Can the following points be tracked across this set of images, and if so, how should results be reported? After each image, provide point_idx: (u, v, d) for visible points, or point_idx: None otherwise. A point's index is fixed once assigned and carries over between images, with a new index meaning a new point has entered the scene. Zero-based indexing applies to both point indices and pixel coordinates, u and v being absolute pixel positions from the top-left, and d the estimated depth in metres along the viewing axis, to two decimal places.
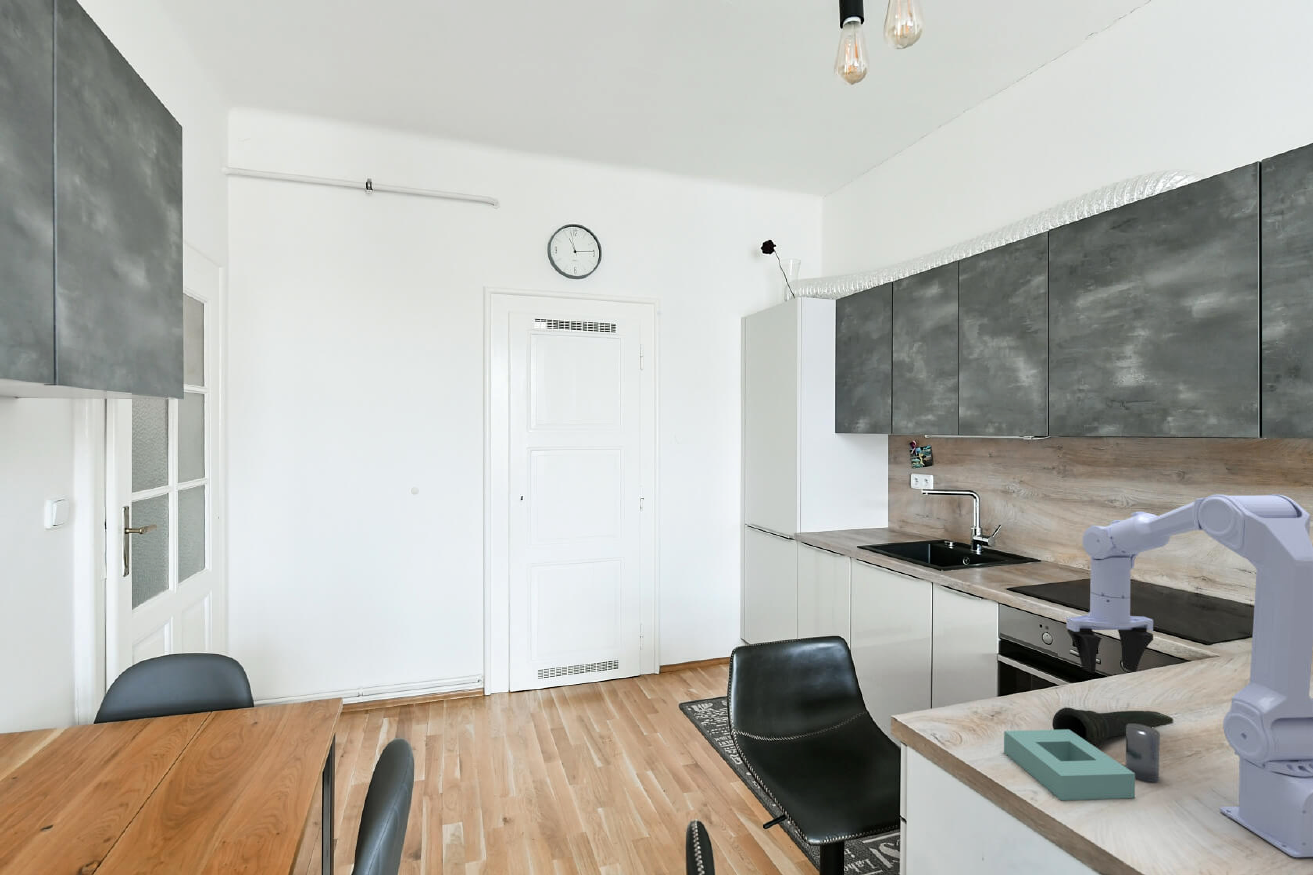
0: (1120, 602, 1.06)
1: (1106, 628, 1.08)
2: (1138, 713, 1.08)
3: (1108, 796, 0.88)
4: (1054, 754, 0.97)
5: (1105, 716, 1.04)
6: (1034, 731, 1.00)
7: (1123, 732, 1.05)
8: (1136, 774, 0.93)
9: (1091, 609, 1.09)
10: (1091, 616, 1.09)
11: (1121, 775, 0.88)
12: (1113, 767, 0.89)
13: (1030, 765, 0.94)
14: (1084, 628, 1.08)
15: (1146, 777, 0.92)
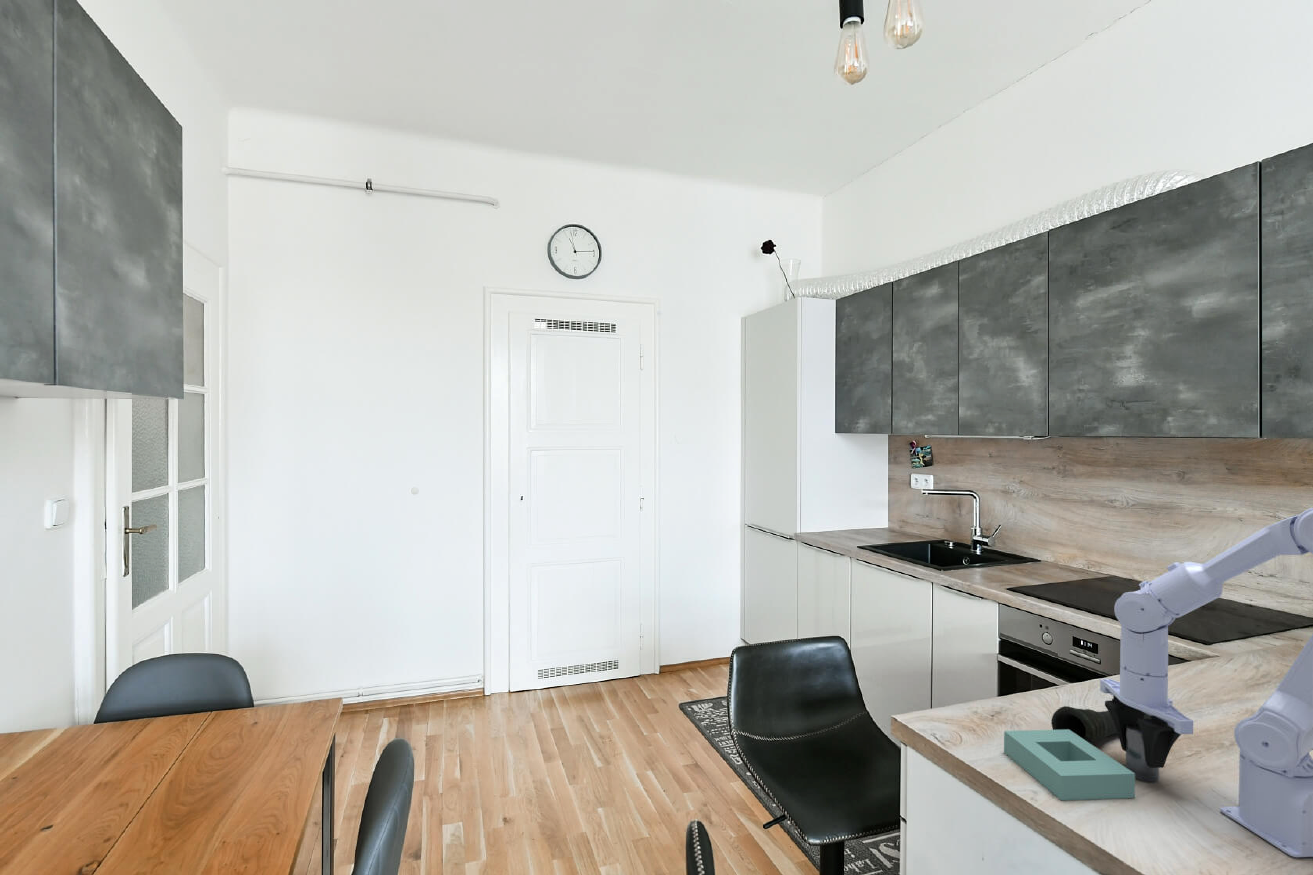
0: (1123, 673, 0.94)
1: None
2: None
3: (1108, 796, 0.88)
4: (1054, 754, 0.97)
5: (1103, 715, 1.04)
6: (1034, 731, 1.00)
7: None
8: (1136, 774, 0.93)
9: None
10: None
11: (1121, 775, 0.88)
12: (1113, 767, 0.89)
13: (1030, 765, 0.94)
14: None
15: (1146, 777, 0.92)
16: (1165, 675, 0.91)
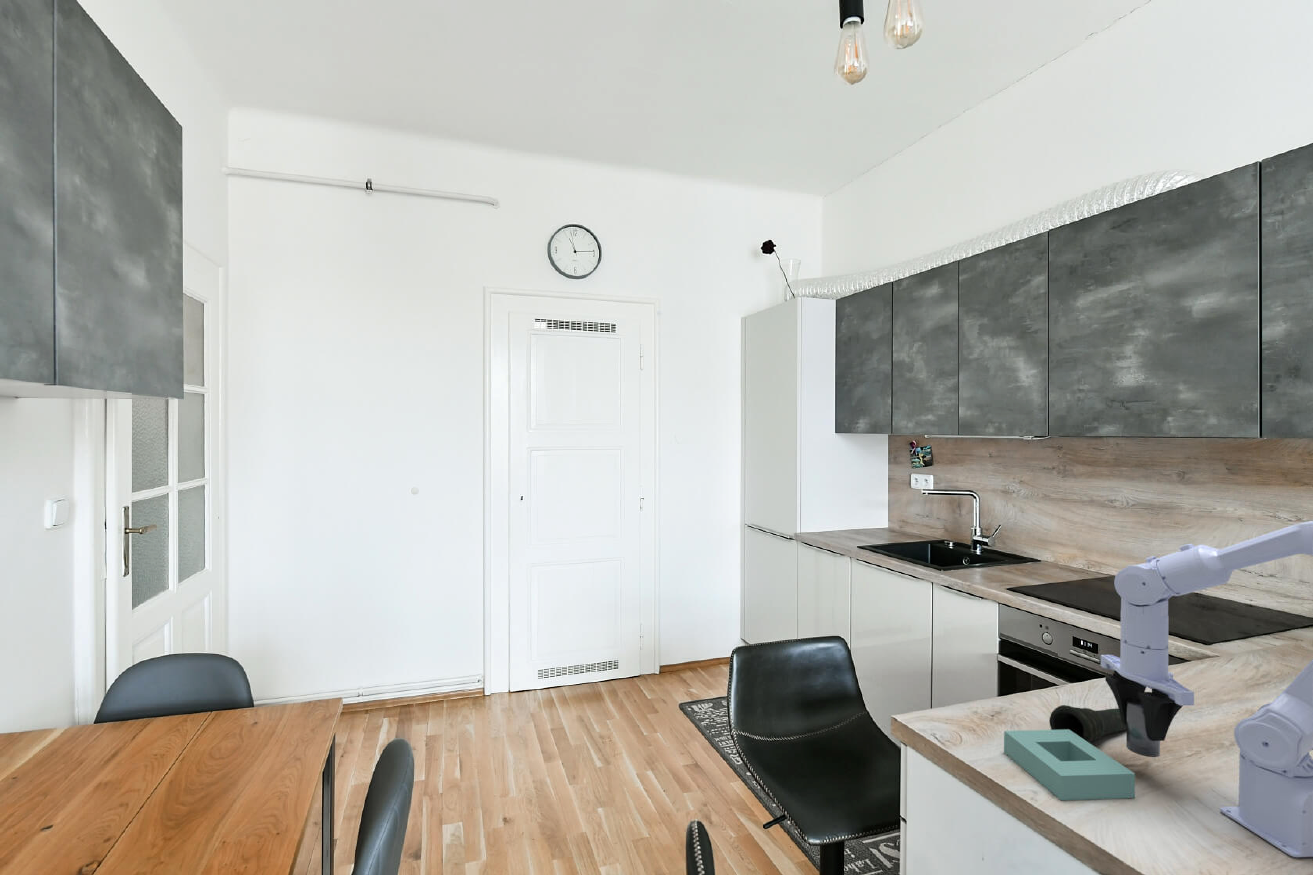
0: (1124, 647, 0.94)
1: None
2: None
3: (1108, 796, 0.88)
4: (1054, 754, 0.97)
5: (1101, 713, 1.05)
6: (1034, 731, 1.00)
7: (1118, 729, 1.06)
8: (1137, 748, 0.92)
9: None
10: None
11: (1121, 775, 0.88)
12: (1113, 767, 0.89)
13: (1030, 765, 0.94)
14: None
15: (1147, 751, 0.92)
16: (1165, 648, 0.91)
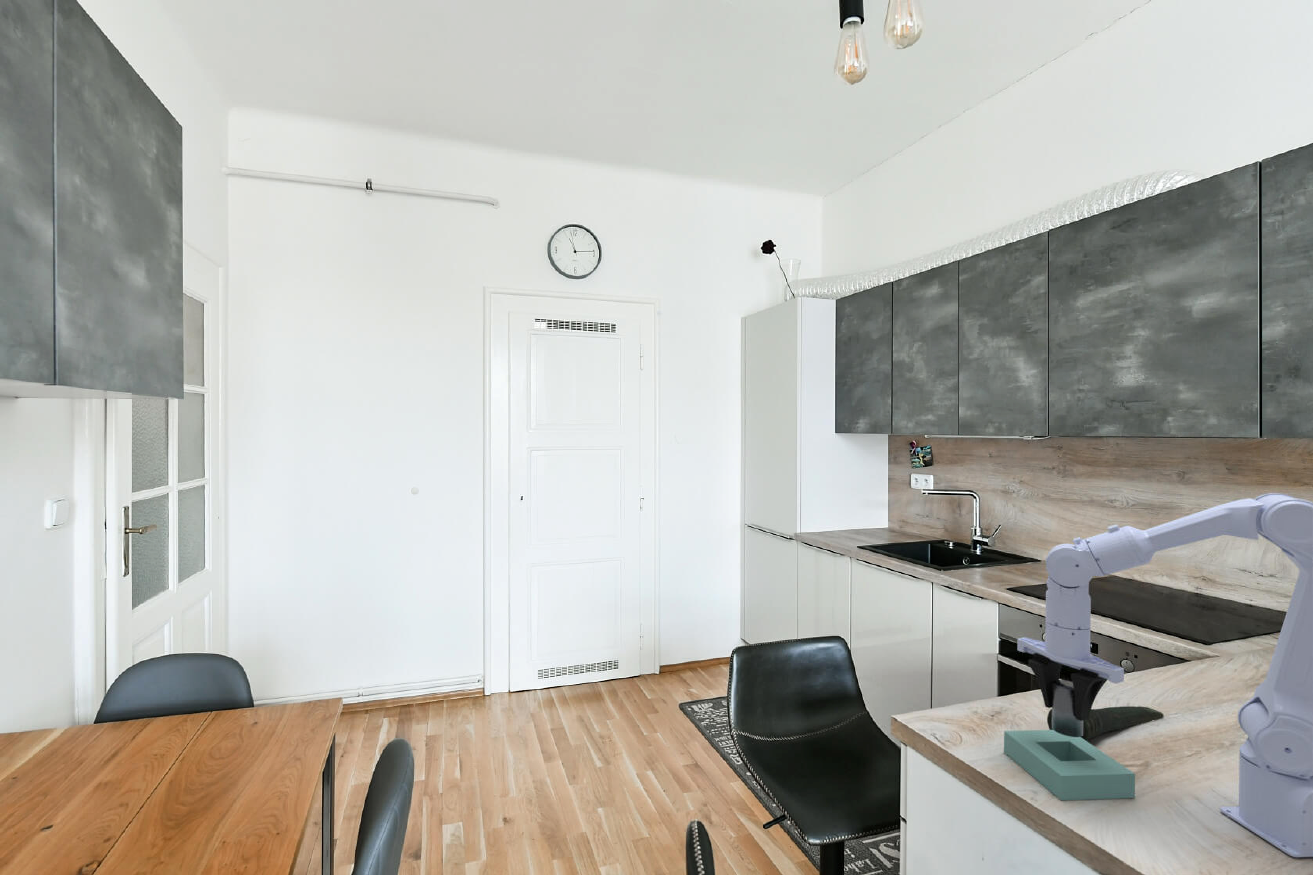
0: (1053, 630, 0.93)
1: (1060, 661, 0.94)
2: (1130, 709, 1.10)
3: (1108, 796, 0.88)
4: (1054, 754, 0.97)
5: (1098, 712, 1.05)
6: (1034, 731, 1.00)
7: (1116, 727, 1.06)
8: (1065, 730, 0.92)
9: None
10: None
11: (1121, 775, 0.88)
12: (1113, 767, 0.89)
13: (1030, 765, 0.94)
14: (1033, 652, 0.98)
15: (1075, 732, 0.92)
16: (1089, 627, 0.92)
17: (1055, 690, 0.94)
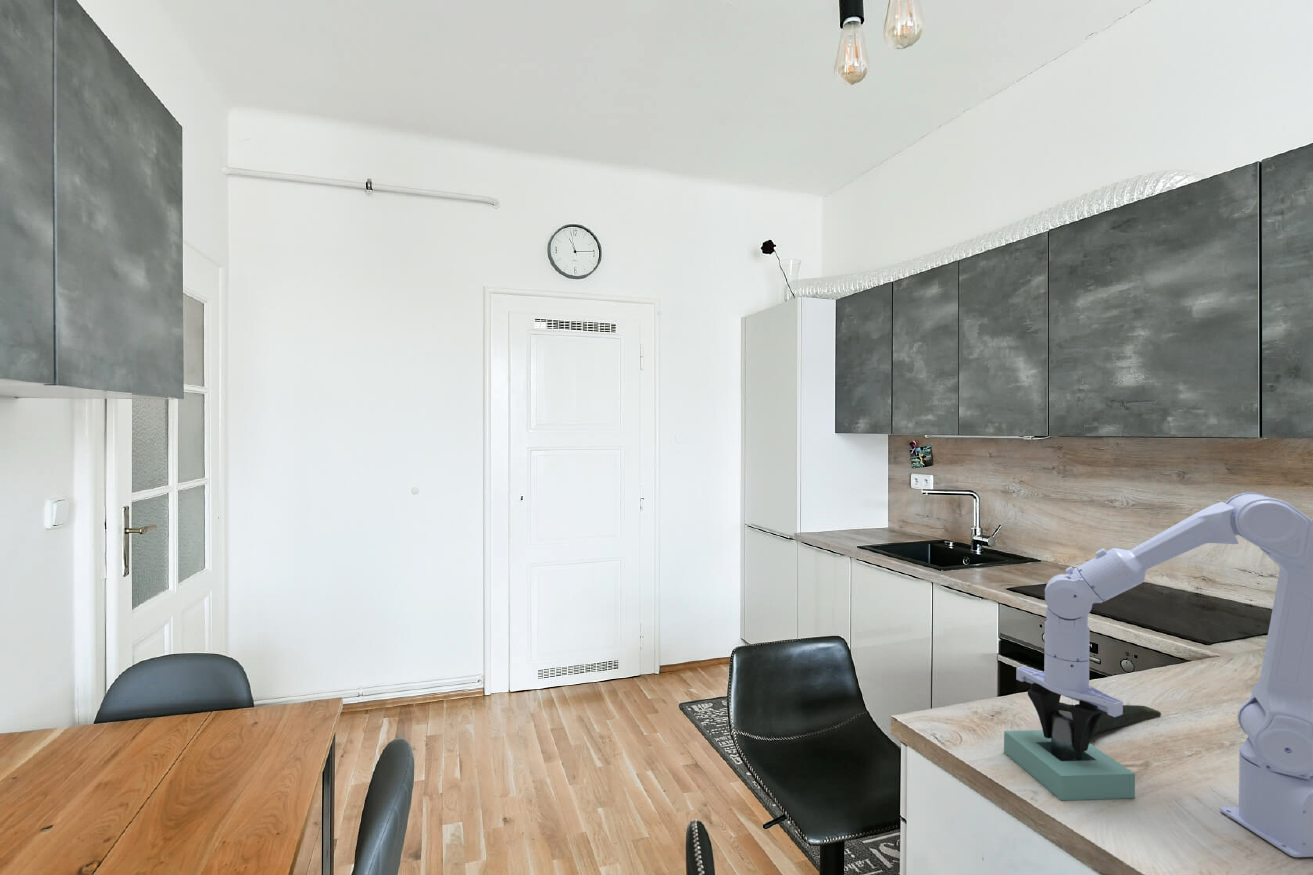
0: (1052, 661, 0.93)
1: None
2: (1127, 707, 1.10)
3: (1108, 796, 0.88)
4: None
5: None
6: (1034, 731, 1.00)
7: (1113, 726, 1.07)
8: None
9: None
10: None
11: (1121, 775, 0.88)
12: (1113, 767, 0.89)
13: (1030, 765, 0.94)
14: (1032, 681, 0.98)
15: None
16: (1088, 658, 0.92)
17: (1054, 721, 0.94)
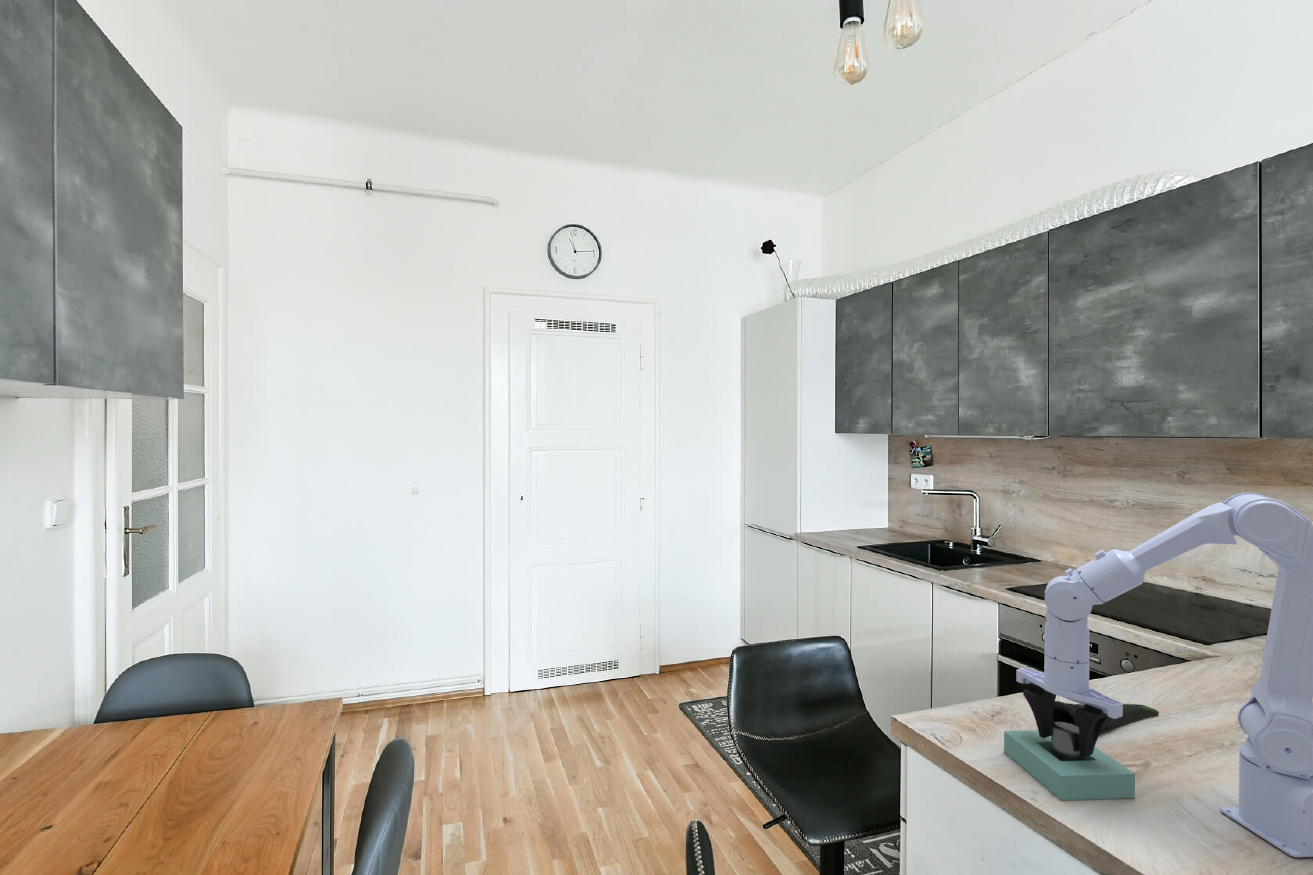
0: (1052, 663, 0.93)
1: None
2: (1125, 706, 1.11)
3: (1108, 796, 0.88)
4: None
5: None
6: (1034, 731, 1.00)
7: (1110, 725, 1.07)
8: None
9: None
10: None
11: (1121, 775, 0.88)
12: (1113, 767, 0.89)
13: (1030, 765, 0.94)
14: (1032, 683, 0.98)
15: None
16: (1088, 660, 0.92)
17: (1054, 733, 0.94)
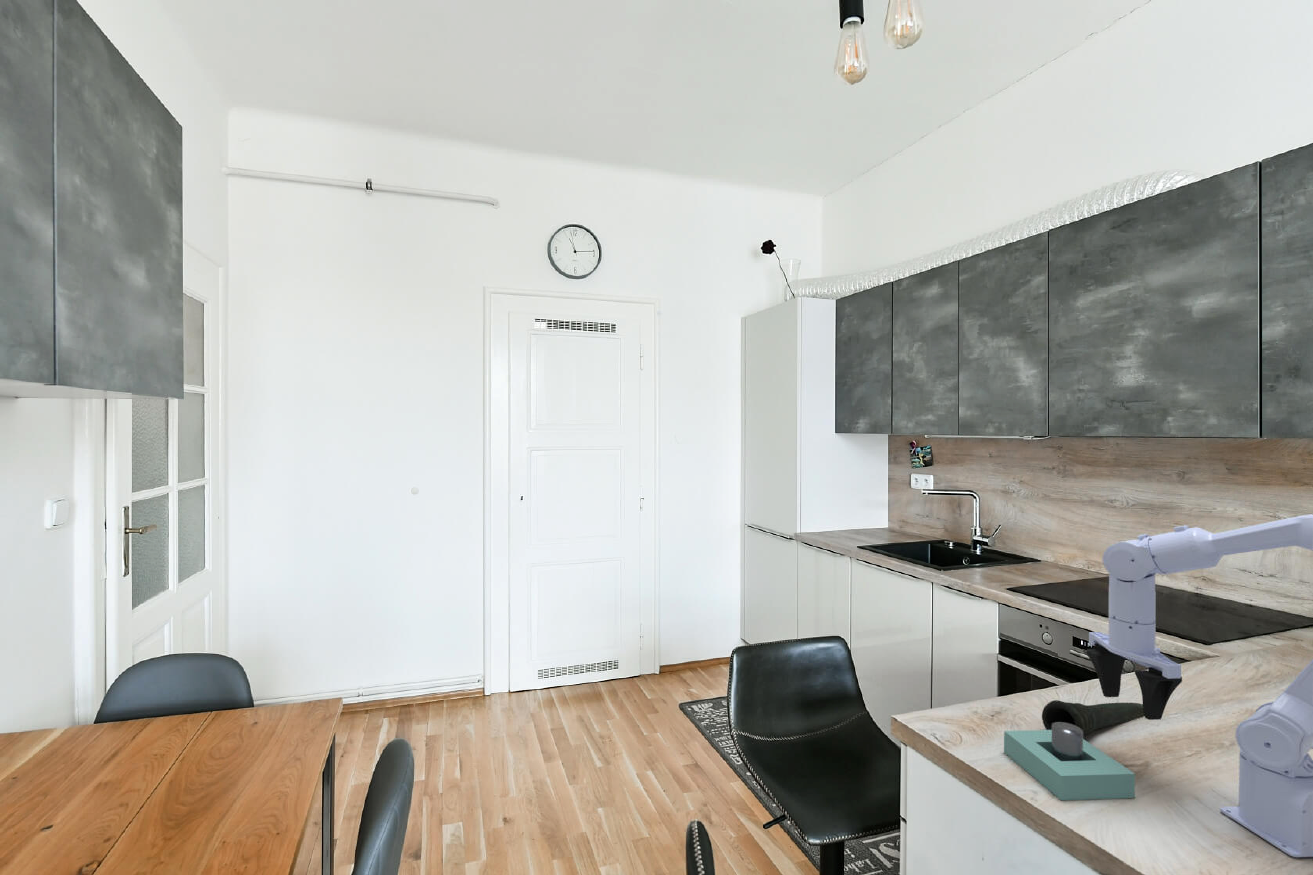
0: (1112, 623, 0.94)
1: None
2: (1122, 705, 1.12)
3: (1108, 796, 0.88)
4: None
5: (1092, 708, 1.07)
6: (1034, 731, 1.00)
7: (1109, 723, 1.08)
8: None
9: None
10: None
11: (1121, 775, 0.88)
12: (1113, 767, 0.89)
13: (1030, 765, 0.94)
14: (1103, 646, 0.99)
15: None
16: (1153, 623, 0.92)
17: (1054, 733, 0.94)
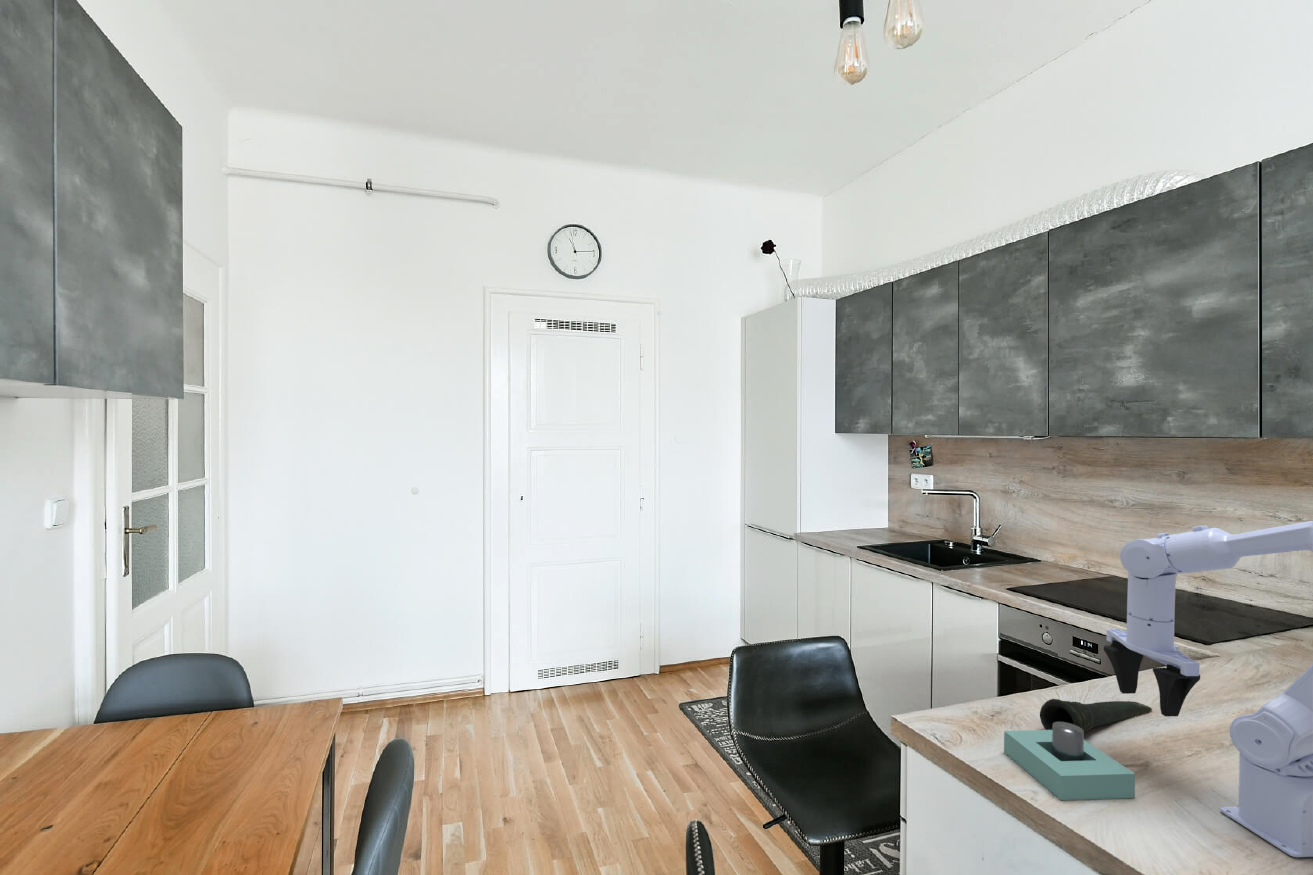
0: (1130, 620, 0.95)
1: None
2: (1120, 703, 1.12)
3: (1108, 796, 0.88)
4: None
5: (1089, 707, 1.07)
6: (1034, 731, 1.00)
7: (1106, 722, 1.08)
8: None
9: None
10: None
11: (1121, 775, 0.88)
12: (1113, 767, 0.89)
13: (1030, 765, 0.94)
14: (1121, 642, 0.99)
15: None
16: (1172, 620, 0.92)
17: (1055, 732, 0.94)
